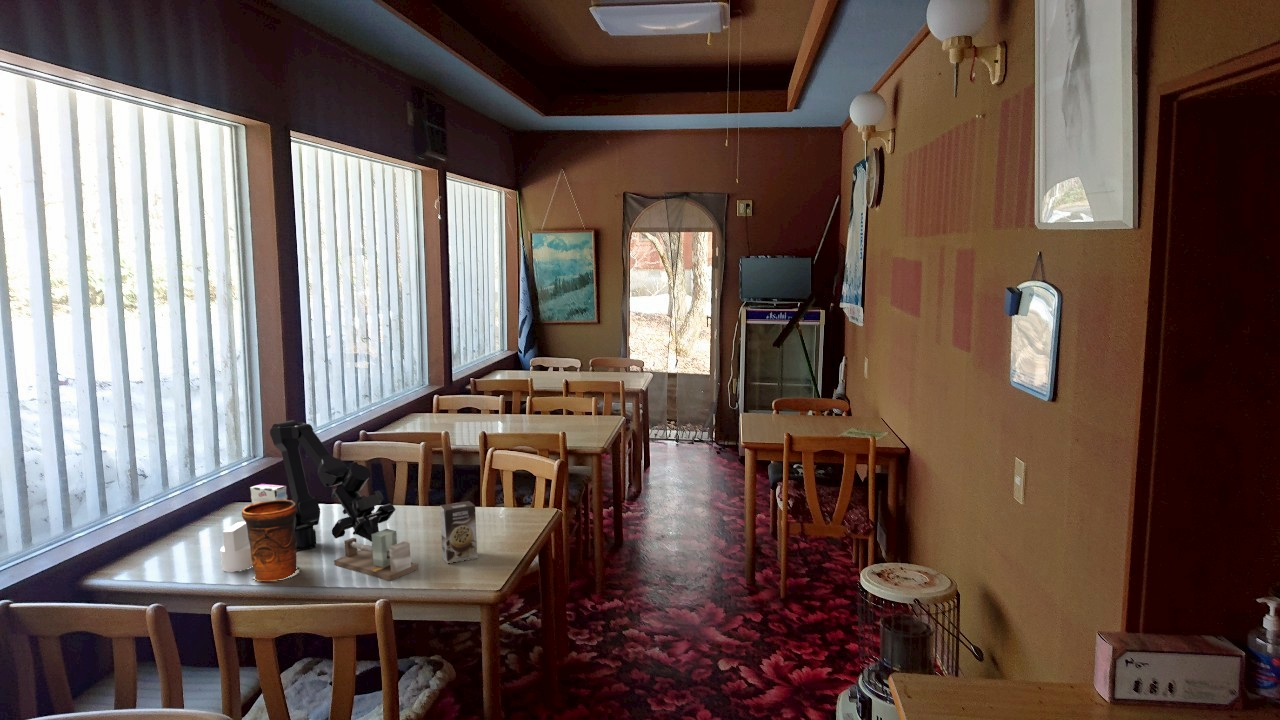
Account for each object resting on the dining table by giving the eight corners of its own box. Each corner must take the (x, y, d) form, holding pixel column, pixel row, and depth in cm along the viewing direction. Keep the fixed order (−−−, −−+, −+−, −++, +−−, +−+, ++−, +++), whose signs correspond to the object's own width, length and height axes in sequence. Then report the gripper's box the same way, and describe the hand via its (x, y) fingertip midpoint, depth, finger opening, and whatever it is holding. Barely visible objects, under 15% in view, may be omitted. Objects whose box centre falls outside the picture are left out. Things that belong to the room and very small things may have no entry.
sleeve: (373, 564, 229) (371, 534, 227) (388, 558, 233) (386, 528, 232) (382, 567, 226) (380, 536, 225) (398, 561, 231) (396, 530, 230)
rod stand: (334, 565, 235) (332, 536, 234) (363, 554, 243) (361, 526, 242) (390, 581, 222) (388, 551, 221) (418, 569, 230) (416, 540, 229)
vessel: (237, 585, 221) (231, 514, 219) (258, 567, 235) (254, 499, 233) (290, 583, 222) (286, 512, 220) (309, 565, 236) (305, 498, 234)
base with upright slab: (232, 560, 240) (228, 521, 239) (262, 560, 240) (258, 521, 239) (215, 572, 231) (211, 531, 230) (246, 572, 231) (243, 531, 230)
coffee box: (447, 564, 233) (444, 510, 231) (442, 557, 239) (438, 504, 237) (478, 558, 237) (475, 505, 235) (472, 551, 243) (469, 499, 241)
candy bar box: (291, 534, 263) (287, 485, 260) (279, 539, 258) (275, 489, 256) (265, 531, 267) (261, 482, 265) (253, 536, 262) (249, 486, 260)
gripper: (335, 492, 223) (363, 537, 219) (389, 476, 239) (417, 518, 234) (319, 515, 229) (347, 560, 224) (373, 498, 244) (400, 540, 240)
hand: (379, 543), depth 230 cm, fingers closed, pressing on sleeve
